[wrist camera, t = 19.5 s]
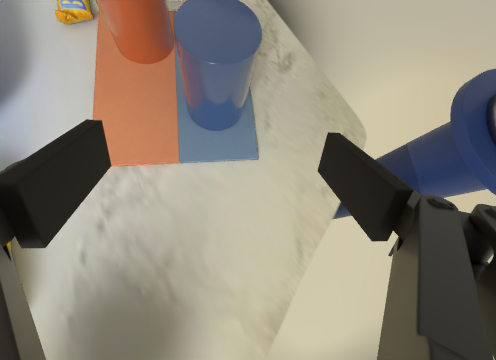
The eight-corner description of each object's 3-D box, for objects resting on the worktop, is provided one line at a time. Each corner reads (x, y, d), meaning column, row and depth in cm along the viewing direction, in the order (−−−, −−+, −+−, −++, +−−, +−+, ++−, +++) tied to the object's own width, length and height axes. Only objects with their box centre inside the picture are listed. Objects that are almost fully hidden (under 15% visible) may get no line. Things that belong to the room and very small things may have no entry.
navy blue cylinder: (240, 81, 31) (257, -4, 20) (245, 130, 29) (267, 65, 18) (185, 80, 29) (172, -11, 19) (187, 131, 28) (175, 63, 17)
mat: (240, 18, 34) (240, 15, 33) (257, 159, 29) (258, 158, 28) (100, 9, 30) (98, 6, 30) (92, 167, 25) (89, 166, 25)
